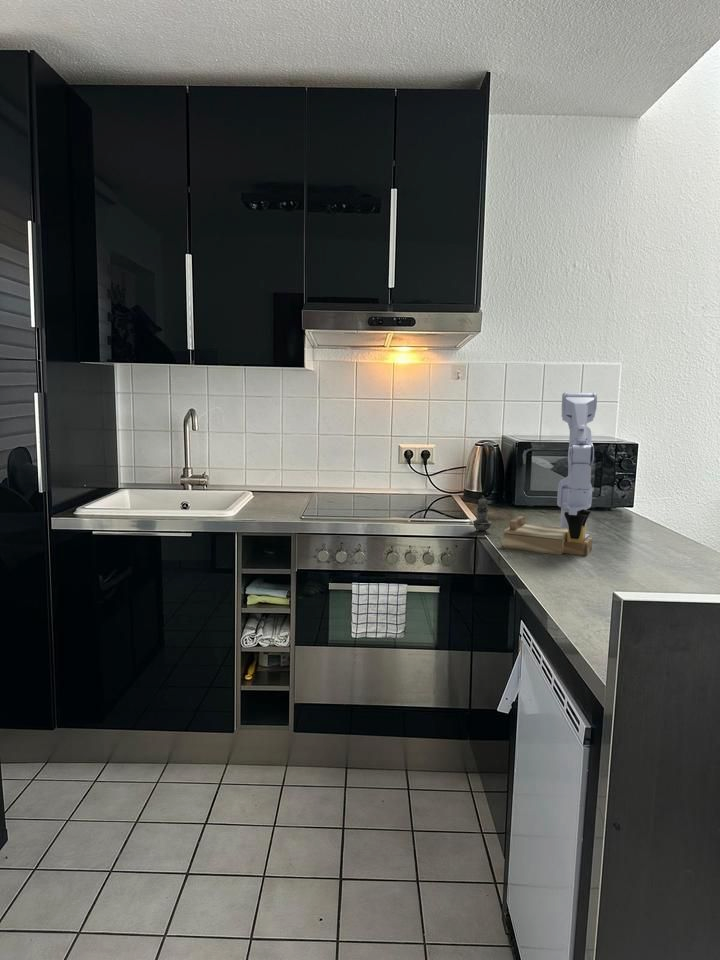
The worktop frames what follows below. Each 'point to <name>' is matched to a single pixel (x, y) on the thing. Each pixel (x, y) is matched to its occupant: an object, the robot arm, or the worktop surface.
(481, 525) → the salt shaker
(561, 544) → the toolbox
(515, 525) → the lid
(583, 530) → the yellow block
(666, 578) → the worktop surface
